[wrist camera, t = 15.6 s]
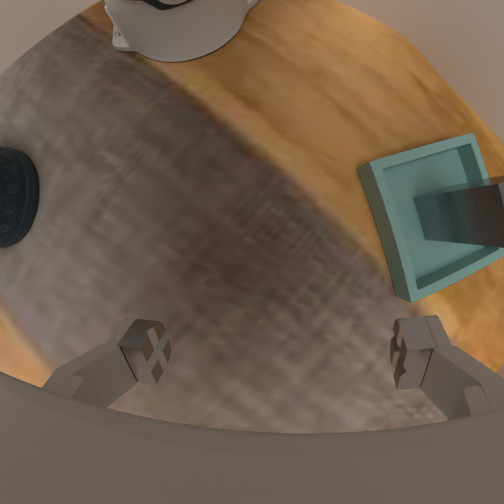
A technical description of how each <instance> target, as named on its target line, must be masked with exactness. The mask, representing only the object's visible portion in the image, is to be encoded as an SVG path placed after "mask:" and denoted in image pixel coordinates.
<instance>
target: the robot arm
mask: <svg viewBox="0 0 504 504" xmlns="http://www.w3.org/2000/svg"><path fill="white" fill-rule="evenodd" d="M258 1H259V0H104V2H105V4H106V5H105V6H104V8H105V11H106V13H107V14H108V16H109V17H110V19H111V20H112V22H113V38H112V44H113V46H114V47H115V49H116V50H118V51H134V52H138V53H140V54H142V55H144V56H146V57H148V58H150V59H153V60H157V61H164V62H178V61H185V60H190V59H194V58H198V57H201V56H204V55H206V54H208V53H211V52H213V51H215V50H216V49H218V48H220V47H221V46H223V45H224V44H225V43H227V42H228V41H229V40H230V39H231V38H232V37H233V36H234V35H235V34H236V33H237V32H238V30H239V29H240V27H241V25H242V23H243V21H244V18H245V15H246V13H247V12H248V10H249V9H250V8H252V7H253V6H254V5H255V4H256V3H257V2H258ZM393 330H394V334H395V336H394V337H393V338H392V339H391V344H390V360H391V365H392V366H393V367H394V368H395V371H394V379H395V384H396V389H397V390H400V389H412V388H420V389H421V390H422V392H423V393H424V394H425V395H426V396H427V397H428V398H429V399H430V400H431V401H432V402H433V403H434V404H435V405H436V406H437V407H438V408H439V409H440V411H441V412H442V413H443V414H444V415H445V416H446V417H447V418H448V421H443V422H437V423H431V424H425V425H419V426H412V427H404V428H396V429H387V430H376V431H364V432H348V433H316V434H298V433H266V432H250V431H237V430H227V429H217V428H209V427H201V426H194V425H187V424H181V423H174V422H169V421H163V420H158V419H152V418H147V417H143V416H138V415H133V414H129V413H124V412H120V411H116V410H112V409H108V408H106V407H108V406H109V405H110V404H111V403H113V402H114V401H115V400H117V399H118V398H119V397H120V396H122V395H123V394H124V393H125V392H127V391H128V390H129V389H130V388H132V387H133V386H134V385H135V384H137V382H143V383H151V384H157V383H158V381H159V379H160V377H161V375H162V373H163V369H162V366H164V365H165V364H167V363H168V361H169V359H170V354H171V345H170V342H169V339H168V338H167V337H166V336H165V335H164V332H165V328H164V325H163V323H162V322H160V321H153V320H141V319H128V318H127V319H124V320H123V321H122V322H121V324H120V325H119V326H118V328H117V329H116V330H115V332H114V333H113V334H112V336H111V337H110V338H109V340H108V341H107V343H106V344H101V345H99V346H97V347H96V348H94V349H92V350H90V351H88V352H86V353H85V354H83V355H81V356H79V357H77V358H75V359H73V360H72V361H70V362H68V363H66V364H64V365H62V366H61V367H59V368H57V369H56V370H55V371H54V372H53V374H52V375H51V376H50V378H49V379H48V380H47V382H46V383H45V384H44V386H43V387H42V388H40V387H38V386H35V385H32V384H30V383H27V382H25V381H22V380H19V379H17V378H15V377H12V376H10V375H7V374H5V373H3V372H0V504H504V379H503V378H502V377H501V376H499V375H498V374H496V373H495V372H494V371H492V370H491V369H489V368H488V367H486V366H485V365H483V364H482V363H480V362H479V361H477V360H476V359H475V358H473V357H472V356H470V355H469V354H467V353H466V352H464V351H463V350H461V349H460V348H458V347H457V346H452V345H451V343H450V341H449V339H448V336H447V334H446V332H445V330H444V328H443V326H442V323H441V321H440V319H439V317H438V316H437V315H433V316H424V317H418V318H407V319H396V320H395V322H394V327H393Z"/></svg>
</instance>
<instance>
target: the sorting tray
mask: <svg viewBox="0 0 504 504" xmlns="http://www.w3.org/2000/svg"><path fill="white" fill-rule="evenodd" d="M357 171H358V173H359V176H360V179H361V182H362V184H363V187H364V190H365V193H366V196H367V199H368V202H369V205H370V208H371V211H372V214H373V217H374V220H375V223H376V226H377V229H378V233H379V236H380V239H381V242H382V246H383V249H384V253H385V256H386V260H387V263H388V267H389V271H390V274H391V278H392V282H393V286H394V290H395V294H396V296H398V297H400V298H402V299H404V300H406V301H408V302H410V303H413V302H416V301H418V300H420V299H422V298H424V297H426V296H428V295H431V294H433V293H435V292H437V291H439V290H441V289H443V288H445V287H447V286H449V285H451V284H453V283H455V282H457V281H459V280H461V279H463V278H465V277H467V276H468V275H470V274H472V273H474V272H476V271H478V270H480V269H482V268H483V267H485V266H487V265H489V264H491V263H492V262H494V261H496V260H498V259H499V258H501V257H503V256H504V248H500V247H491V246H481V245H472V244H462V243H452V242H442V241H432V240H425V239H424V235H423V231H422V227H421V224H420V220H419V217H418V213H417V210H416V207H415V203H414V200H413V198H415V197H417V196H420V195H423V194H426V193H429V192H432V191H435V190H438V189H440V188H443V187H447V186H452V185H457V184H462V183H467V182H472V181H477V180H483V179H488V178H489V177H488V174H487V171H486V168H485V165H484V161H483V158H482V155H481V153H480V150H479V147H478V144H477V141H476V139H475V136H474V133H470V134H466V135H462V136H458V137H455V138H451V139H447V140H443V141H440V142H436V143H432V144H429V145H425V146H422V147H418V148H415V149H411V150H408V151H404V152H401V153H397V154H394V155H391V156H387V157H384V158H380V159H377V160H374V161H371V162H368V163H367V164H365V165H363V166H362V167H360V168H358V169H357Z"/></svg>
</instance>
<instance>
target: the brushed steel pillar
mask: <svg viewBox="0 0 504 504" xmlns="http://www.w3.org/2000/svg"><path fill="white" fill-rule="evenodd" d="M413 200H414V203H415V207H416V210H417V213H418V217H419V220H420V224H421V227H422V231H423V235H424V239H425V240H432V241H442V242H452V243H462V244H472V245H481V246H491V247H500V248H504V176H498V177H493V178H488V179H483V180H477V181H472V182H467V183H462V184H457V185H452V186H447V187H443V188H440V189H438V190H435V191H432V192H429V193H426V194H423V195H420V196H417V197H415V198H413Z"/></svg>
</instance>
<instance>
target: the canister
mask: <svg viewBox="0 0 504 504" xmlns="http://www.w3.org/2000/svg"><path fill="white" fill-rule="evenodd" d="M37 202H38V180H37V175H36V171H35V169H34V166H33V164H32V162H31V161H30V160H29V158H28V157H27V156H25V155H24V154H22V153H21V152H20V151H18V150H16V149H12V148H8V147H4V148H3V147H0V248H5V247H8V246H10V245H12V244H15V243H17V242H18V241H19V240H21V239H22V238H23V237H24V235H25V234H26V233H27V231H28V230H29V228H30V226H31V224H32V221H33V219H34V216H35V212H36V208H37Z"/></svg>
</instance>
